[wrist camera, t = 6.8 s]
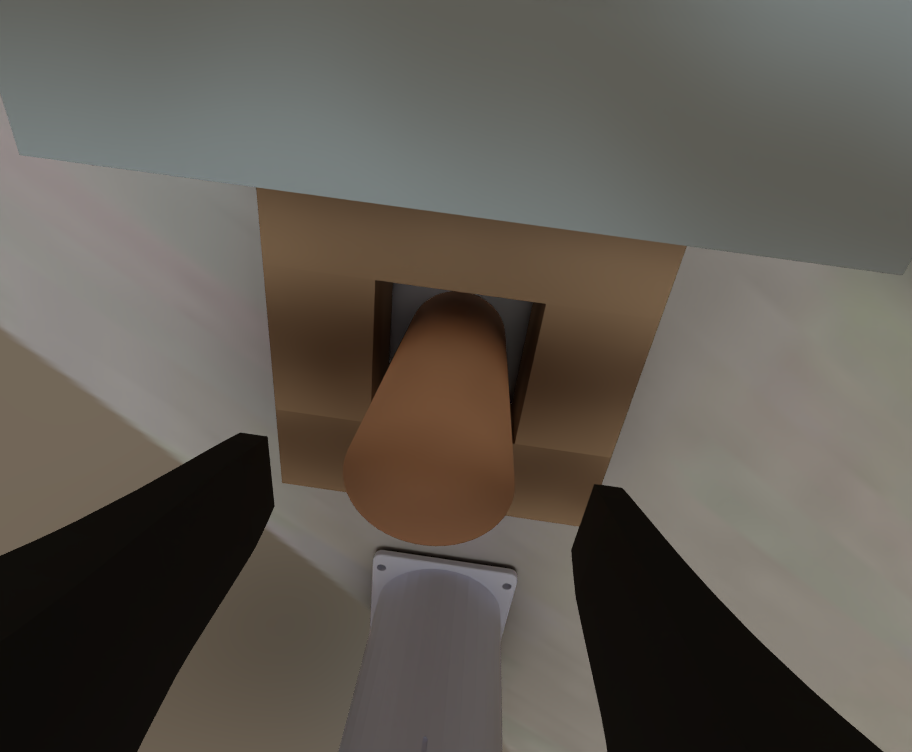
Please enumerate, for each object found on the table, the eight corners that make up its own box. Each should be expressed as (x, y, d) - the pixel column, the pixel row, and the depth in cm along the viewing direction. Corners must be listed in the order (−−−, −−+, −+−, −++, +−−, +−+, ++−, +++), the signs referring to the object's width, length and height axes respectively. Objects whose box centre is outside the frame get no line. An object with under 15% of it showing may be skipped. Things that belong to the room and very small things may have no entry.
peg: (492, 389, 19) (491, 559, 11) (403, 369, 19) (336, 527, 11) (516, 303, 17) (536, 433, 9) (417, 281, 17) (350, 393, 9)
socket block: (574, 479, 21) (633, 720, 12) (308, 441, 21) (173, 650, 12) (702, 77, 13) (1113, -76, 4) (288, 23, 14) (-100, -226, 5)
